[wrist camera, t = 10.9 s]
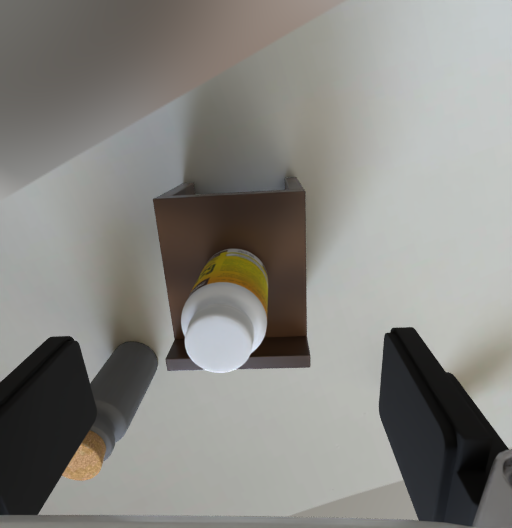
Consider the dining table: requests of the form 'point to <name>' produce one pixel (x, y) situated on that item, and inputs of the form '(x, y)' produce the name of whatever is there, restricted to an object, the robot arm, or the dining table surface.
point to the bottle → (113, 406)
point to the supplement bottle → (226, 311)
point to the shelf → (246, 238)
